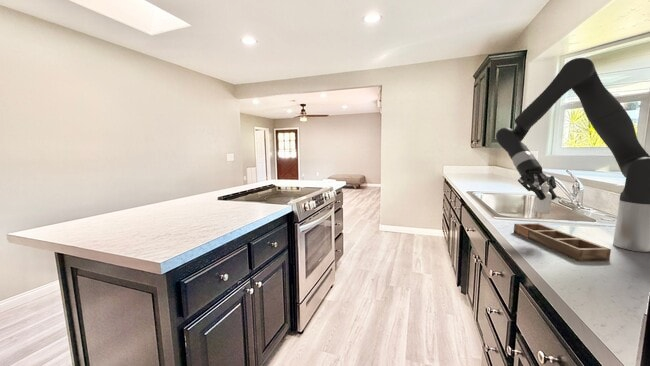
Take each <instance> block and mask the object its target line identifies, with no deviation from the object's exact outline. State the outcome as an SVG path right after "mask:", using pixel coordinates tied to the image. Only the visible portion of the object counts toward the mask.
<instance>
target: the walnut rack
mask: <svg viewBox="0 0 650 366" xmlns="http://www.w3.org/2000/svg"><path fill="white" fill-rule="evenodd" d="M513 233H514V234H517V235H519V236H521V237H522V236H523V237H522V238H525V239H526V240H529V241H532V242H534V243H536V244H538V245H540V246H542V247H545V248H547V249H549V250H551V251H553V252H556V253H558V254H561V255H562V256H565V257H567V258H569V259H571V260H573V261H577V262H610V259H611V251H612V249H611V248H608V247H605V246H604V245H600V244H597V243H595V242H592V241H589V240H587V239H583V238H581V237H577V236H575V235H572V234H569V233H566V232H563V231H561V230H558V229H555V228H553V227H549V226H547V225H543V224H541V223H536V222H534V223H528V222H527V223H513Z"/></svg>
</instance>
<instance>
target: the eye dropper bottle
mask: <svg viewBox="0 0 650 366" xmlns="http://www.w3.org/2000/svg"><path fill="white" fill-rule="evenodd" d="M540 189H541V190H542V192H543V193H544V195H545V196H546V198H545V199H543V200H540V199H539V198H538V197H537V196H536V199H535V208H534V209H535V212H536V213H538V214H542V215H543V214H544V215H550V213H551V207H552V200H551V199H552V195H551V193H550V192H549V185H547V182H544V183H543V184H542V185H541V188H540Z"/></svg>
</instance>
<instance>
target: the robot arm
mask: <svg viewBox="0 0 650 366" xmlns="http://www.w3.org/2000/svg"><path fill="white" fill-rule="evenodd" d="M570 90H572V91H573V92H574V93H575V94H576V96H577V97H578V100H579V101H580V103H581V106H582V109H583V112H584V114H585V116H586V118H587V120H588V121H589V123H590V125H591V126H592V127H593V129H594V131H595V132H596V134H597V135H598V137H600V139H601V140H602V142H603V143H604V144H605V145H606V146H607V148H608V149H609V151H611V153H612V155H613V157H614V159H615V162H616V164H618V168H619V170H620V172H621V174H622V175H623V176H624V178H625V183H624V187H623V190H622V191H621V192H620V194H619V201H618V206H617V207H618V209H617V213H616V214H617V215H616V222H615V228H614V235H613V241H612V244H613V245H614V246H615V247H617V248H620V249H624V250H629V251H634V252H639V253H650V155H649V153H648V151H646V149H644V148H643V145H642V144H641V143H640V141H639V139H638V136H637V134H636V133H637V132H636V129H635V125H634V123H633V121H632V118H631V117H630V115H629V114H628V112H627V110H626V109H625V108H624V106H623V105H622V104H621V103H620V101H619V100H618V99H617V98H616V97H615V96H614V95H613V93H611V92H610V91H609V90H608V89H607V88H606V87H605V85H604V84H603V82H602V80H601V78H600V77H599V74H598V72H597V69H596V67H595V64H594V62H593V60H592V59H590V58H589V57H588V58H587V57H580V56H579V57H575V58H572V59H570V60H569V61H567V62H566V63H564V65H563V66H562V68H561V69H560V70H559V72H558V73H557V74H556V76H555V77H554V78H553V80H552V81H551V82H550V83H549V85H547V87H546V88H545V89H544V90H543V91H542V93H540V94H539V95H538V96H537V97H536V98H535V99H534V100H533V101H532V102H530V104H529V105H528V106H526V108H524V110H523V111H521V112H520V114H519V115H518V116H516V118H515V119H514V123H515V125H516V126H515V127H514V129H513V128H510V127H501V128H500V129H499V130H497V132H496V134H495V138H496V142H497V143H498V144H499V145H500V147H501V148H503V150H504V151H505V152H506V153H507V154H508V156H509V158H510V159H511V161H512V163H513V166H514V167H515V169H516V171H517V172H518V173H519V176H520V177H519V178H518V179H517V182H518V183H519V184H520V185H521V186H522V187H524V188H525V190H526V191H528V192H531V191H532V193H534V194H535V195H536V198H537V197H538V198H539V199H540V200H543V199H545V198H546V196H545V195H544V193H543V192H542V190H541V185H543V184H544V182H547V185H549V192H550V193H551V195H552V199H551V201H554V200H555V199H557V194H556V193H555V191H554V190H555V189H556V188H557V184H556V180H555V176H553V175H551V176H547V175H546V174H545V172H543V167H542V165H541V164H540V162H539V161H538V160H537V158H536V156H535V155H534V154H533V153H532V152H531V150H530V149H529V148H528V146H527V145H526V144H525V143H523V142H522V141H523V140H524V139H525V137H526V136H527V134H528V133H529V132H530V129H531V128H532V127H533V126H534V125H536V123H538V122H539V121H540V120H541V119H542V118H543V117H544V115H546V114H547V112H549V111H550V109H551V108H552V107H553V106H554V105H555V104H556V103H557V102H558V100H560V99H561V98H562V97H563V96H564V95H565V94H566V93H567V92H569V91H570Z"/></svg>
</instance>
